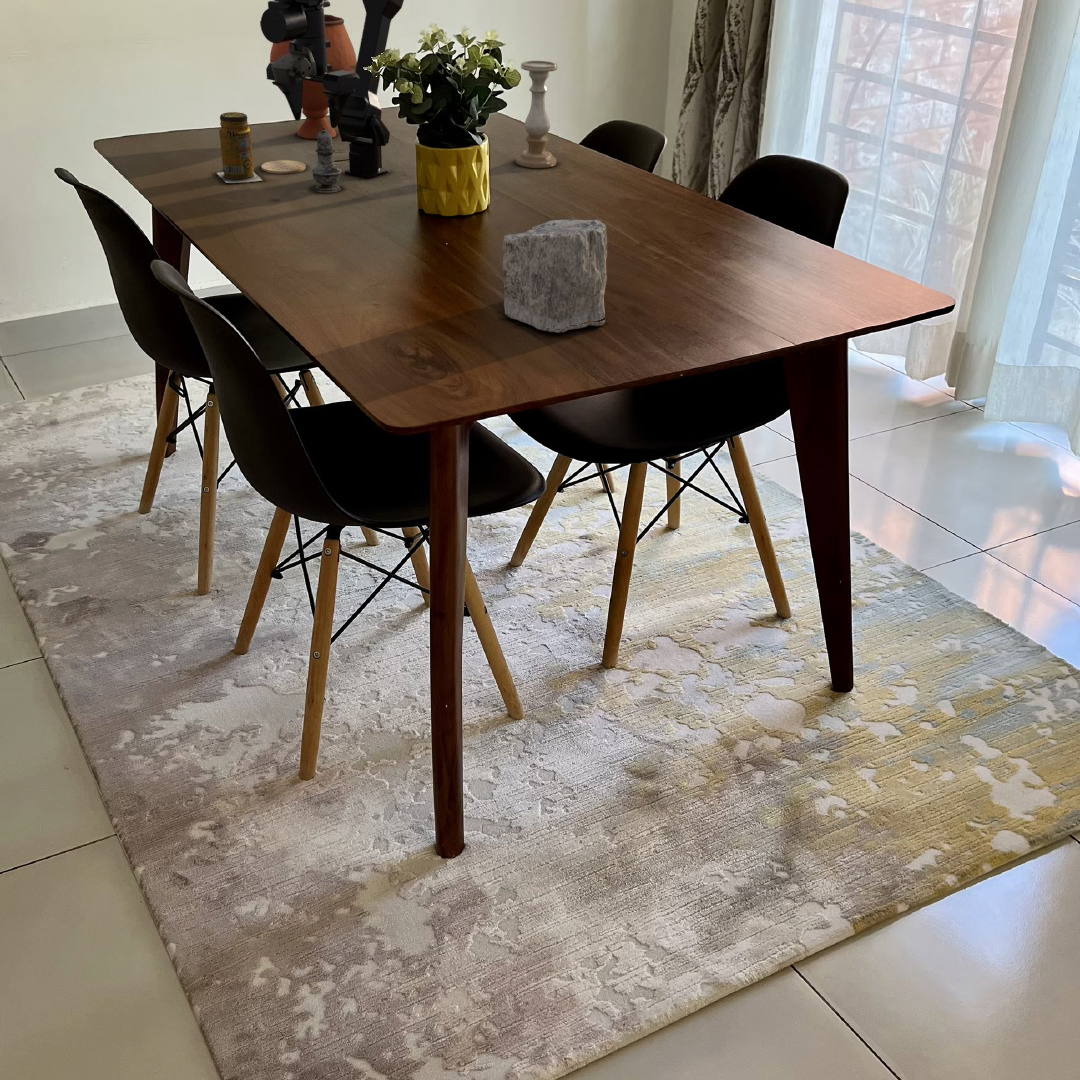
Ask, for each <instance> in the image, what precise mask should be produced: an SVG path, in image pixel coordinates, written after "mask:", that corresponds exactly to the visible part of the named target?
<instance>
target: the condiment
mask: <svg viewBox="0 0 1080 1080" xmlns="http://www.w3.org/2000/svg"><path fill="white" fill-rule="evenodd" d="M248 119H249V118H248V115H247V114H246V113H244V112H238V111H231V112H229V111H227V112H223V113H221V114H220V115H219V121H220V125H219V126H220V128H219V131H218V132H219V134H218V135H219V143H220V154H221V163H222V171H220V172H219V171H218V172H216V174H217V175H218V176H219V178H220V179H222V180H223V182H225V183H226V184H236V183H237V184H238V183H239V184H240V183H251V182H260V181H263V179H262V177H260V176H259V175H258V174H256V172H255V164H254V157H253V156H254V155H253V145H252V133H251V129H250V127H249V122H248Z"/></svg>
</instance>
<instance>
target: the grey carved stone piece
mask: <svg viewBox="0 0 1080 1080" xmlns="http://www.w3.org/2000/svg"><path fill="white" fill-rule="evenodd" d="M322 129H323V130H322V131H320V132H319V133H318V134H317V139H316V145H317V146H316V147H317V149H315V153H316V154H317V165H316V167H314V168H311V171H310V172H311V174H312V177H313V180H314V181H315V182H316V183H317V184H316V185H315V187H314V188H313V190H314V191H315V192H317V193H323V194H332V193H333V194H334V193H338V192H340V191H341V190H342V188H341V186H339V185H338V184H337V183H338V182H339V181H340V178H341V173H342V172H343V171H342V169H341V168H339V167H336V164H335V160H334V159H335V158H334V153H335V152H336V150H335V149H333V148H334V147H333V137H332V135H331V133H330V132H328V131H326V130H325V129H326V128H325V127H324V126H323V128H322Z"/></svg>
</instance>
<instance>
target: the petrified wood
mask: <svg viewBox="0 0 1080 1080" xmlns="http://www.w3.org/2000/svg"><path fill="white" fill-rule="evenodd" d="M501 252H502V254H503V255H502V262H501V268H502V276H503V294H504V295H503V296H504V301H503V308H504V314H505V316H507V317H508V318H510V319H513V320H516V321H519V322H522V323H525V324H526V325H527V324H528V325H529V326H532V327H534V328H535V329H537V330H540V331H546V332H549V333H565V332H567V331H569V330H578V329H583V328H587V327H588V326H593V327H599V326H605V323H606V311H605V292H606V286H607V282H608V281H607V280H608V271H607V257H608V235H607V226H606V224H605V223H603V222H602V220H600V219H557V220H556V219H553V220H549V221H546V222H544V223H541V224H539V225H535V226H532V228H531V229H528V230H526V231H525V232H520V233H514V234H512V233H510V234H506V235H504V236H503V239H502V248H501ZM603 318H605V320H603V321H600V322H588V323H586V324H581V323H584V322H587V321H598V320H601V319H603ZM579 324H580V325H579ZM570 325H577V326H570ZM543 327H545V328H543ZM566 327H568V328H566ZM547 328H550V329H547ZM564 328H565V329H564ZM556 329H560V330H556ZM562 329H564V330H562Z"/></svg>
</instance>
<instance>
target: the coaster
mask: <svg viewBox="0 0 1080 1080" xmlns="http://www.w3.org/2000/svg"><path fill="white" fill-rule="evenodd" d="M260 168H261V170H262V171H263V172H266V173H270V174H277V175H279V174H280V175H285V174H289V175H290V174H296V173H300V172H303V171H305V170H306V168H307V166H306V164H305V163H304V162H302V161H297V160H289V159H281V160H278V159H277V160H271V161H266V162H264V163H262V164H261V165H260Z"/></svg>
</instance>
